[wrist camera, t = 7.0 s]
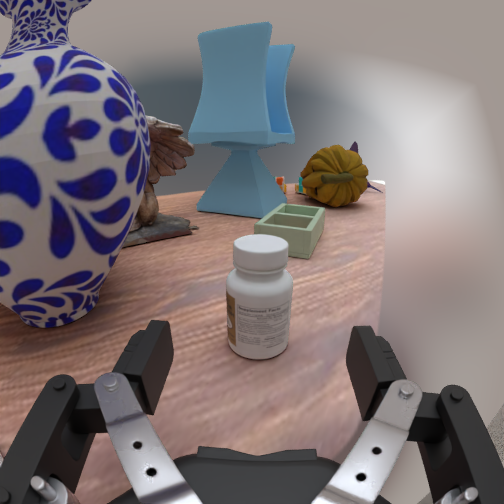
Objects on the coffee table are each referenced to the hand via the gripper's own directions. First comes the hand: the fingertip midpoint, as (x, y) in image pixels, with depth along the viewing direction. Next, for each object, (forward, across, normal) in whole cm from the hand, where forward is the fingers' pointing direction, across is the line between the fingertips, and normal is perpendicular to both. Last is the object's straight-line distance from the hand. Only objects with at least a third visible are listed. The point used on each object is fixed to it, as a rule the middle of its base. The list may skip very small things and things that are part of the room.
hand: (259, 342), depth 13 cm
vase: (+10, +19, +6) cm, 23 cm away
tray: (+31, -4, +6) cm, 32 cm away
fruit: (+66, -14, +3) cm, 67 cm away
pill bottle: (+8, 0, +6) cm, 10 cm away
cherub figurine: (+35, +21, +6) cm, 41 cm away
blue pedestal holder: (+50, +4, +6) cm, 51 cm away
